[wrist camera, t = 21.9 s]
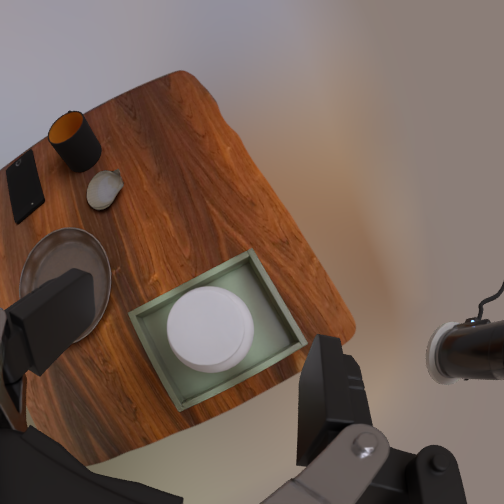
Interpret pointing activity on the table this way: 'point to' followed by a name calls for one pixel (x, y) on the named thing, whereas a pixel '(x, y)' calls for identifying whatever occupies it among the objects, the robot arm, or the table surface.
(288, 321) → the tray
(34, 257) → the plant saucer
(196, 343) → the pill bottle
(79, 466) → the robot arm
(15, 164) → the cell phone
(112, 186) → the seashell
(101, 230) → the table surface
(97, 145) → the mug
